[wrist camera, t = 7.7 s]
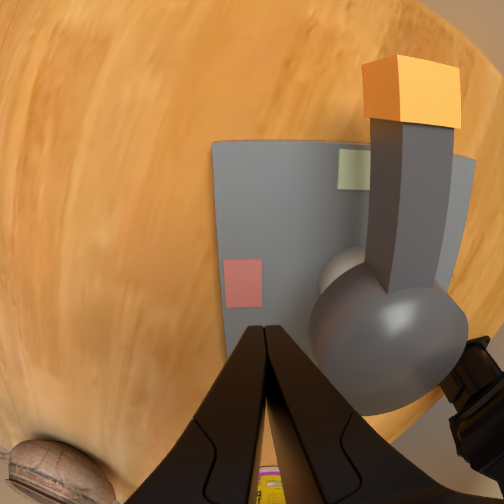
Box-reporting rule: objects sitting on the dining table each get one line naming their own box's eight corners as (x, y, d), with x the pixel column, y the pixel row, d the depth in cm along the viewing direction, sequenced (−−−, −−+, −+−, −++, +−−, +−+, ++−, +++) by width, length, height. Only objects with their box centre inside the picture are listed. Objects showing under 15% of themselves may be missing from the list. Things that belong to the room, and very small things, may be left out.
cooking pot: (20, 440, 38) (2, 486, 27) (-1, 393, 30) (-31, 451, 19) (134, 488, 42) (125, 539, 31) (146, 459, 35) (134, 529, 24)
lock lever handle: (415, 353, 18) (440, 397, 14) (305, 372, 18) (315, 426, 15) (456, 81, 11) (513, 82, 7) (303, 62, 11) (330, 41, 7)
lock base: (463, 156, 18) (514, 175, 13) (417, 345, 26) (441, 386, 21) (214, 141, 18) (202, 153, 13) (229, 362, 26) (227, 415, 20)
